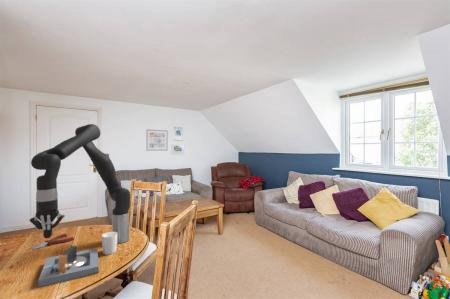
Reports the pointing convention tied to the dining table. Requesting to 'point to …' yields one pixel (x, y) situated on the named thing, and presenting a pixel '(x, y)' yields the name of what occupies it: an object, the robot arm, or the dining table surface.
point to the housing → (52, 276)
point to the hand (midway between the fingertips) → (47, 237)
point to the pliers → (54, 241)
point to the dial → (70, 260)
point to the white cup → (109, 242)
